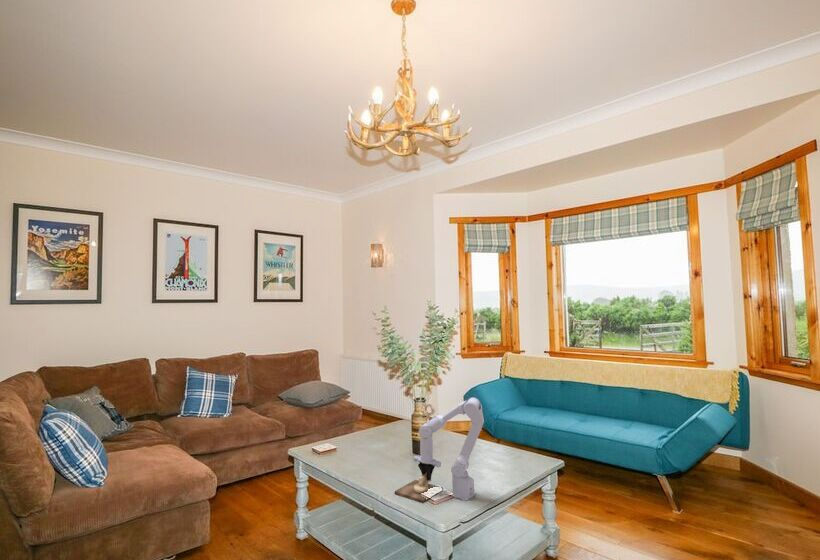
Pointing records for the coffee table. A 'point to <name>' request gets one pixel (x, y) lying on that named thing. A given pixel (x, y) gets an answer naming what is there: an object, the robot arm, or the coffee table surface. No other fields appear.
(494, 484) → the coffee table surface
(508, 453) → the coffee table surface
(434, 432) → the robot arm
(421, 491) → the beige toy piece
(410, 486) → the plate
